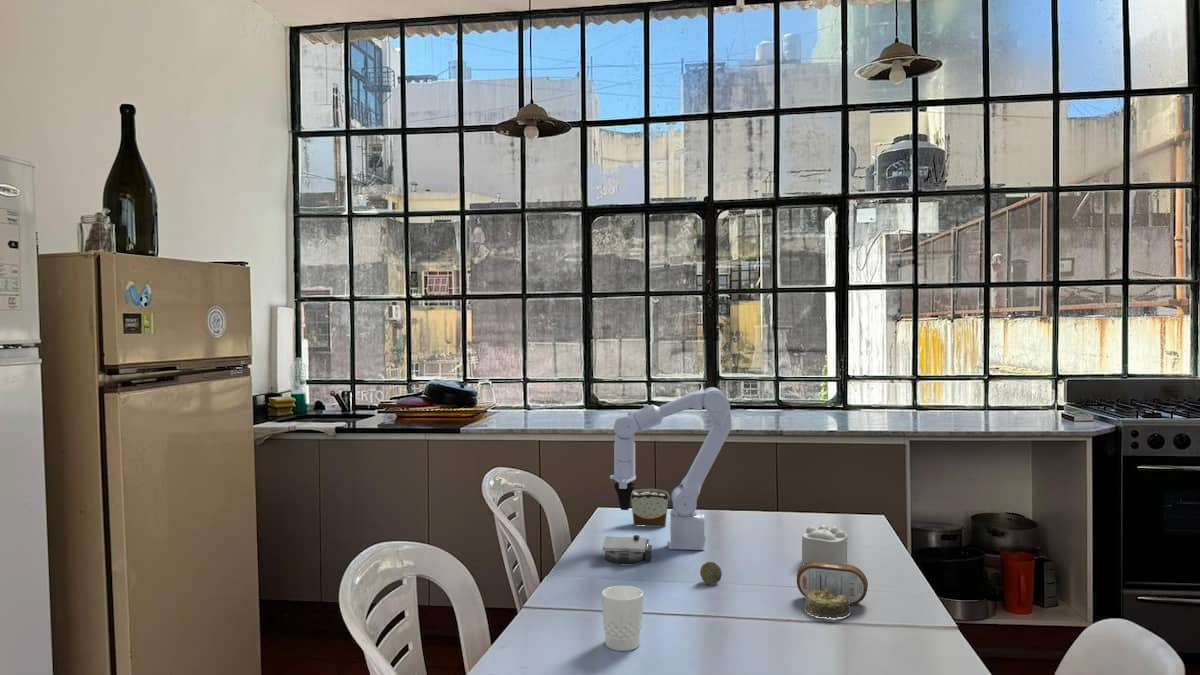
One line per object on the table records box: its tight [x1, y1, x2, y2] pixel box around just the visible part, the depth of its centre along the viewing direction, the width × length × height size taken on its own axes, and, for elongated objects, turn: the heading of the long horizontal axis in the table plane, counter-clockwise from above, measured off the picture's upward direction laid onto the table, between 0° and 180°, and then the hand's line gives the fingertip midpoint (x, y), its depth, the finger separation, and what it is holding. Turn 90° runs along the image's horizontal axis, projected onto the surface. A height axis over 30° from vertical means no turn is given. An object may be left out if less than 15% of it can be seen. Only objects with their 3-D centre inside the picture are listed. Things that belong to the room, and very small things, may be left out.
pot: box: [604, 544, 653, 565], centre depth 204 cm, size 12×17×3 cm
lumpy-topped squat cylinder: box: [801, 524, 848, 565], centre depth 201 cm, size 10×13×9 cm
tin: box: [796, 561, 869, 605], centre depth 173 cm, size 15×3×8 cm, turn 71°
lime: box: [699, 561, 723, 586], centre depth 185 cm, size 4×5×5 cm
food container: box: [630, 488, 671, 527], centre depth 237 cm, size 12×6×10 cm, turn 84°
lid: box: [602, 534, 650, 552], centre depth 204 cm, size 12×10×2 cm
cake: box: [803, 588, 852, 618], centre depth 167 cm, size 10×10×5 cm
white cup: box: [601, 585, 644, 652], centre depth 151 cm, size 8×8×10 cm
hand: (624, 509), depth 215 cm, fingers closed
